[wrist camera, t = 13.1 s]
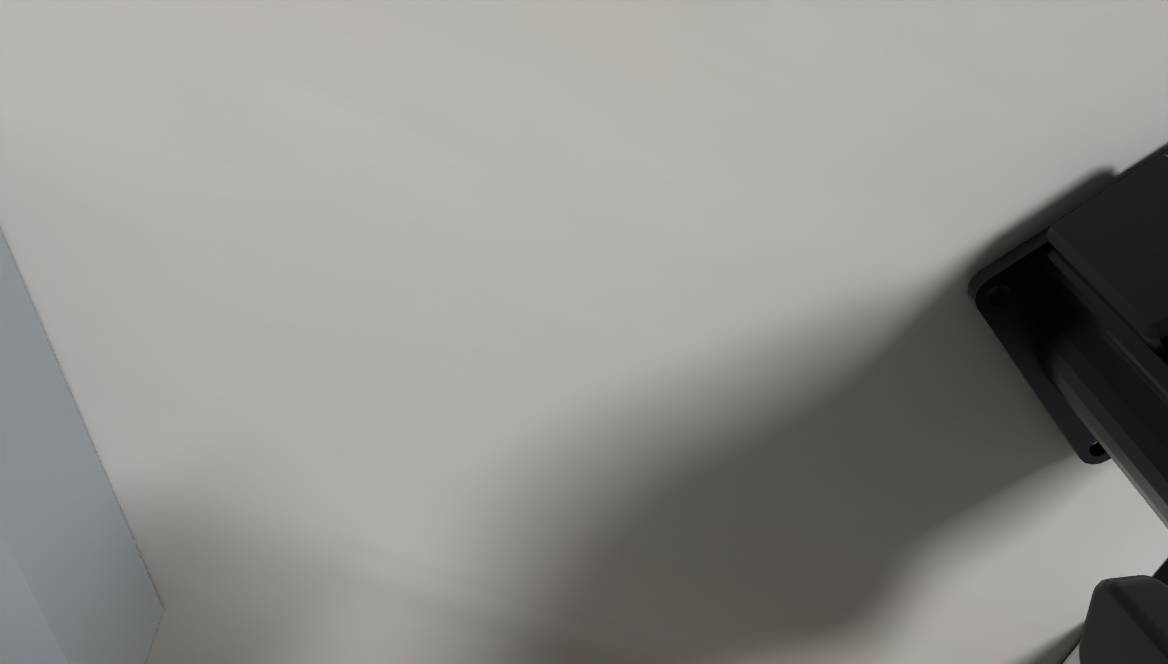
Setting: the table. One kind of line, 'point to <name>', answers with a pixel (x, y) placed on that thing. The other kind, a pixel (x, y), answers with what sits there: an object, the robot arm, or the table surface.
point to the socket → (59, 514)
